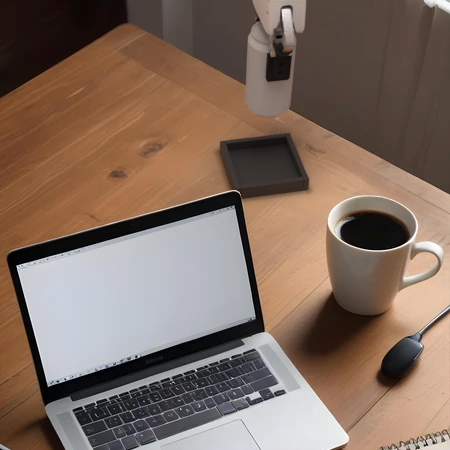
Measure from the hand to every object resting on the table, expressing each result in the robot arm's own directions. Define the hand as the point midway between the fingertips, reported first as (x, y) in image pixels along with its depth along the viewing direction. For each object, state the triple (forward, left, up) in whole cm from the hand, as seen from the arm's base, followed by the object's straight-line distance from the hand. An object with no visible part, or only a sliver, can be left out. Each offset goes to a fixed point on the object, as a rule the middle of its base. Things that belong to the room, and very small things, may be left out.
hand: (270, 63), depth 112 cm
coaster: (0, 0, -19) cm, 19 cm away
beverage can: (0, 0, -7) cm, 7 cm away
